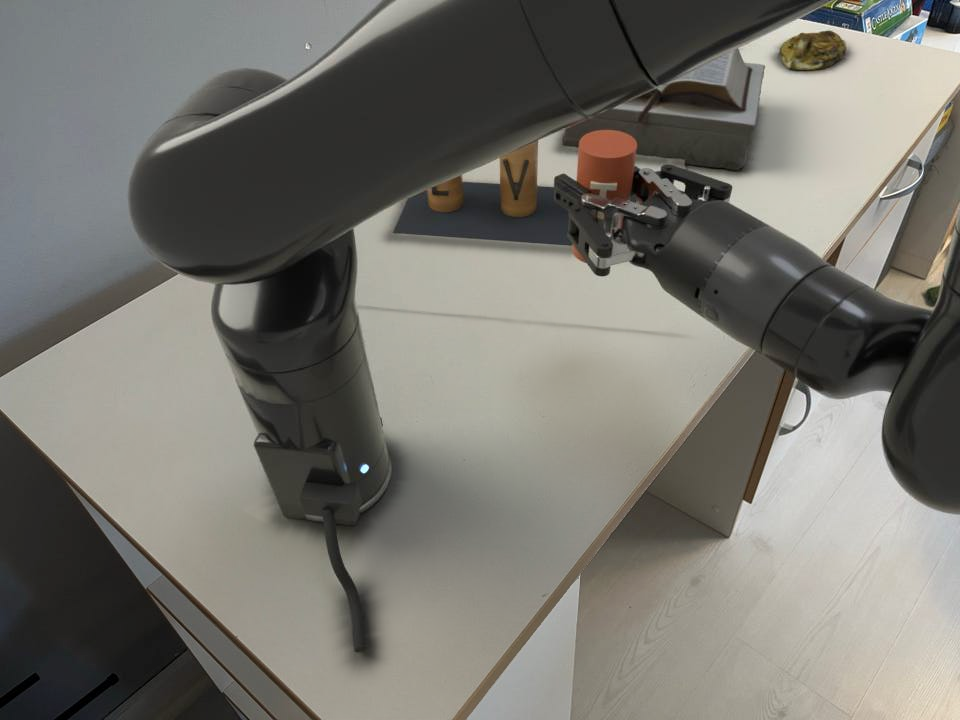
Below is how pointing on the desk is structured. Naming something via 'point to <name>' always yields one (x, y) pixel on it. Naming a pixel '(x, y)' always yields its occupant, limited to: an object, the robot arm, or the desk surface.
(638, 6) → the robot arm
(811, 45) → the olive rounded lump
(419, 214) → the word mat
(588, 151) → the pillar
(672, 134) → the bible
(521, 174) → the light wooden cylinder
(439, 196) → the pillar
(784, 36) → the desk surface
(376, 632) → the desk surface
